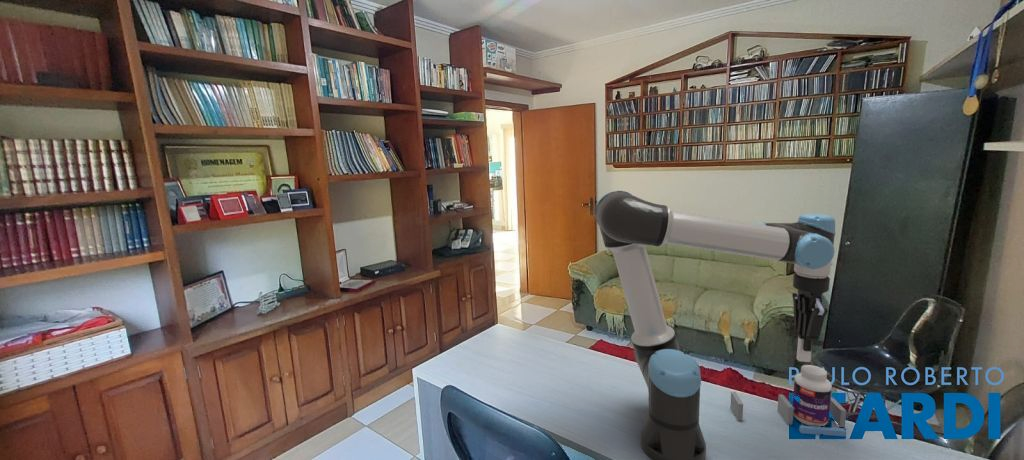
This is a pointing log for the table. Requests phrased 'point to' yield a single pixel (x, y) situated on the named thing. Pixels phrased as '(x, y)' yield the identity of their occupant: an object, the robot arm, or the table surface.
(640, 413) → the table surface
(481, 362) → the table surface
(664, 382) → the robot arm
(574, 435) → the table surface
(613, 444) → the table surface
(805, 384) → the pill bottle
